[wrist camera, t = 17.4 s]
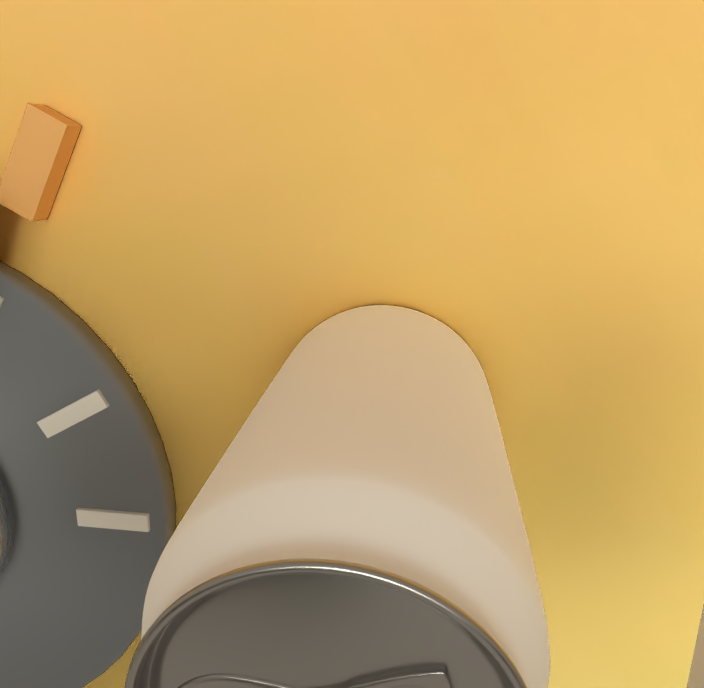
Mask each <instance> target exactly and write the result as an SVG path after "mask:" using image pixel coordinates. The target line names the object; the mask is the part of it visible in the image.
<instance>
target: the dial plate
mask: <svg viewBox="0 0 704 688" xmlns="http://www.w3.org/2000/svg"><path fill="white" fill-rule="evenodd" d="M0 477H1V479H2V481H3V483H4V485H5V488H6V490H7V493H8V496H9V499H10V503H11V507H12V510H13V518H14V541H13V547H12V552H11V554H10V557H9V560H8V563H7V565H6V566H5V568H4V570H3V572H2V574H1V575H0V688H82V687H84V686H85V685H87V684H88V683H89V682H91V681H92V680H94V679H95V678H97V677H98V676H100V675H101V674H103V673H104V672H105V671H106V670H107V669H108V668H109V667H110V666H111V665H112V664H114V663H115V662H116V661H117V660H118V659H119V658H120V657H121V656H122V655H123V654H124V652H125V651H126V650H127V649H128V647H129V646H130V645H131V643H132V642H133V641H134V639H135V638H136V637H137V635H138V634H139V632H140V631H141V629H142V617H143V609H144V602H145V597H146V592H147V589H148V585H149V582H150V579H151V577H152V574H153V572H154V569H155V567H156V565H157V563H158V561H159V558H160V556H161V554H162V552H163V550H164V549H165V547H166V545H167V543H168V542H169V540H170V538H171V537H172V535H173V533H174V531H175V530H176V503H175V496H174V488H173V481H172V474H171V471H170V467H169V463H168V460H167V456H166V452H165V449H164V445H163V442H162V440H161V437H160V435H159V432H158V430H157V428H156V425H155V423H154V420H153V418H152V416H151V413H150V411H149V409H148V407H147V406H146V404H145V402H144V400H143V399H142V397H141V395H140V393H139V391H138V390H137V388H136V386H135V384H134V383H133V381H132V379H131V378H130V376H129V375H128V374H127V372H126V371H125V370H124V368H123V367H122V365H121V364H120V363H119V361H118V360H117V359H116V357H115V356H114V355H113V353H112V352H111V350H110V349H109V348H108V347H107V346H106V345H105V344H104V343H103V341H102V340H101V339H100V338H99V337H98V336H97V335H96V334H95V333H94V332H93V331H92V330H91V328H90V327H89V326H88V325H87V324H86V323H85V322H84V321H83V320H82V319H81V318H80V317H78V316H77V315H76V314H75V313H74V312H73V311H72V310H70V309H69V308H68V307H67V306H66V305H65V304H63V303H62V302H61V301H60V300H59V299H58V298H57V297H55V296H54V295H53V294H51V293H50V292H49V291H47V290H46V289H44V288H43V287H41V286H40V285H38V284H37V283H35V282H34V281H32V280H31V279H30V278H28V277H27V276H25V275H24V274H22V273H21V272H19V271H17V270H15V269H13V268H11V267H9V266H7V265H5V264H4V263H2V262H0Z"/></svg>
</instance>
